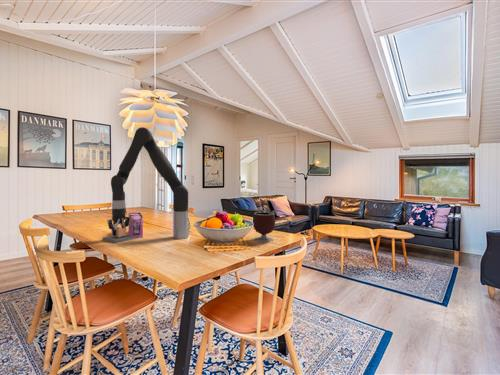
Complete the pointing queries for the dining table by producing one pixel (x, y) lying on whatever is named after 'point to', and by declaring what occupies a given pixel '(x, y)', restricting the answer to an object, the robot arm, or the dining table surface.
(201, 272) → the dining table surface
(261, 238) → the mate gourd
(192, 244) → the dining table surface
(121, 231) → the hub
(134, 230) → the gum box
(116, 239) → the board
